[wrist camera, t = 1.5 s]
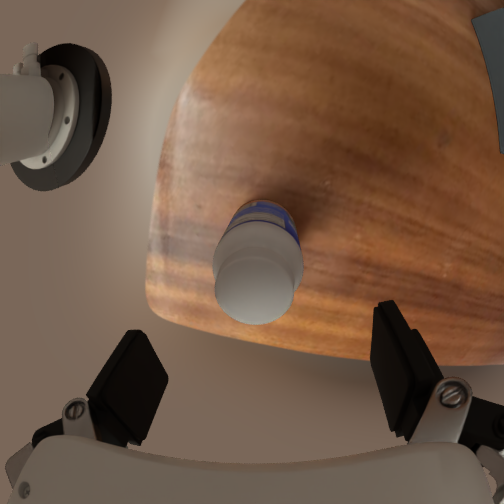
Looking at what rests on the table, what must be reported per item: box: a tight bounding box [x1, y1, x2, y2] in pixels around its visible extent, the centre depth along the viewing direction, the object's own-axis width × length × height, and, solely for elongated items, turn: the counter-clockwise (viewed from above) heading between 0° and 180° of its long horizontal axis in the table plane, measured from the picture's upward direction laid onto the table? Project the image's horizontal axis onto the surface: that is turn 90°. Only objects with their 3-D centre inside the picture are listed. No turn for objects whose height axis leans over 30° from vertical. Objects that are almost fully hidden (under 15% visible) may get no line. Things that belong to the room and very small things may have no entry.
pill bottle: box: [213, 200, 304, 325], centre depth 18 cm, size 5×5×10 cm
